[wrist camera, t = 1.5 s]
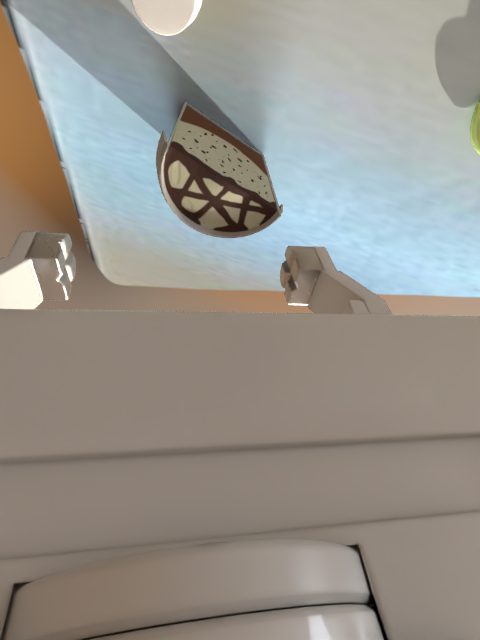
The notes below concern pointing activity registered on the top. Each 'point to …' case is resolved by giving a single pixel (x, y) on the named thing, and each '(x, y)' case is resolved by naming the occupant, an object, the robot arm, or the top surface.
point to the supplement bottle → (167, 14)
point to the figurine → (475, 128)
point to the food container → (214, 178)
